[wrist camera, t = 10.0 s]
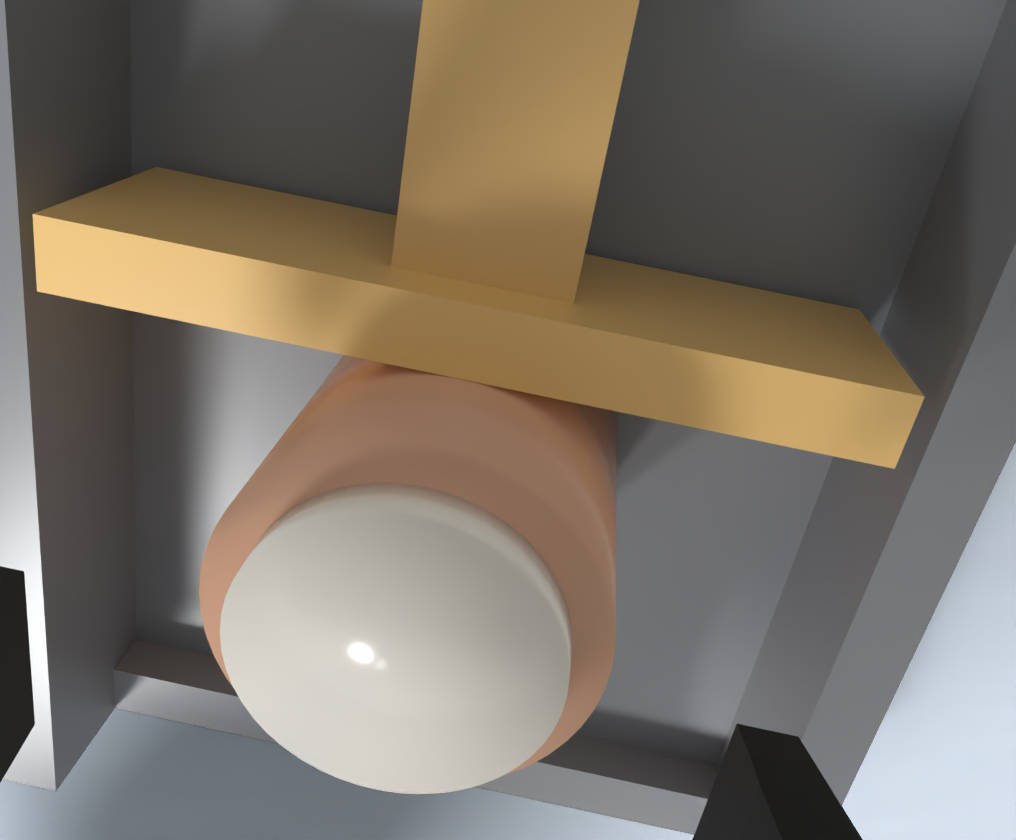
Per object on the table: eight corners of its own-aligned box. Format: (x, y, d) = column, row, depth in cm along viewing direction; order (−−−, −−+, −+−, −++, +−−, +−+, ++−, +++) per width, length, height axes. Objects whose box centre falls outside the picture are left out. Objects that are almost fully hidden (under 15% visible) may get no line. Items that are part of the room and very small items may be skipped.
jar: (588, 576, 17) (573, 856, 11) (322, 527, 17) (181, 780, 11) (644, 319, 14) (658, 516, 9) (336, 267, 15) (171, 429, 9)
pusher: (837, 368, 14) (894, 468, 11) (156, 229, 14) (36, 291, 12) (1026, -148, 11) (1174, -199, 8) (157, -313, 11) (-5, -419, 8)
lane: (747, 791, 19) (772, 949, 16) (102, 651, 19) (1, 778, 16) (1355, -699, 9) (1724, -1041, 6) (54, -923, 10) (-212, -1353, 7)
